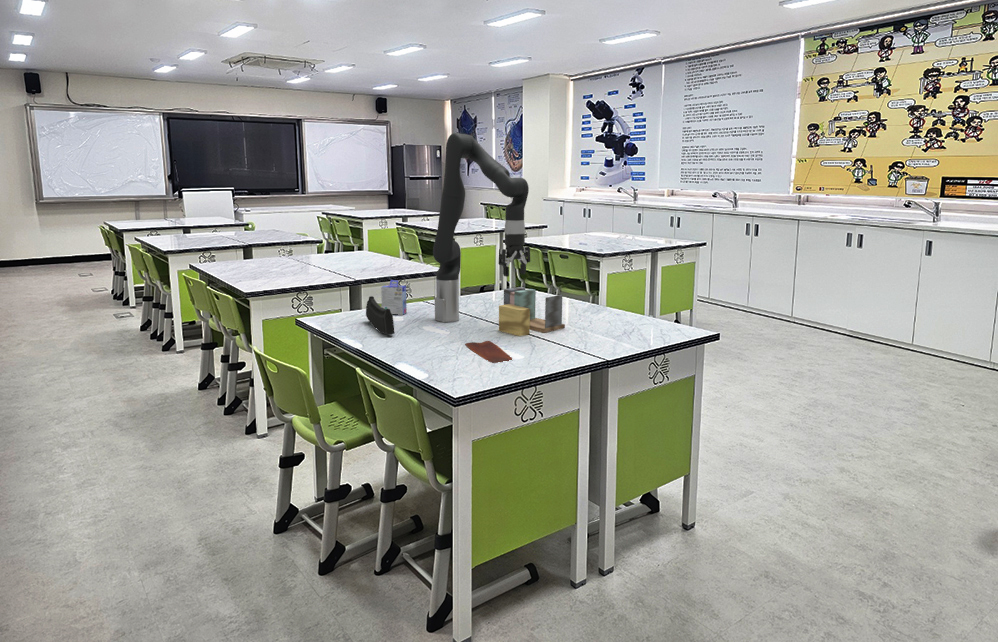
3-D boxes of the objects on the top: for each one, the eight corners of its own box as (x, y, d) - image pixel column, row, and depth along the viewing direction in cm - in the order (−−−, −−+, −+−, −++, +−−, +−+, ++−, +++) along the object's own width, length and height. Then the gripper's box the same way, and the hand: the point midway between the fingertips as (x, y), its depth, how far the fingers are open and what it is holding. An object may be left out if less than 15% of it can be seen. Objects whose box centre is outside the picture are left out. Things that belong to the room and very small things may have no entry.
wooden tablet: (463, 346, 246) (463, 341, 246) (489, 343, 250) (489, 339, 249) (488, 365, 222) (488, 360, 221) (517, 362, 225) (517, 357, 225)
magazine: (396, 315, 252) (374, 280, 276) (387, 315, 251) (366, 280, 274) (393, 354, 260) (373, 317, 284) (385, 355, 259) (365, 318, 282)
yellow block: (519, 336, 258) (520, 310, 256) (498, 330, 267) (498, 305, 265) (529, 334, 261) (529, 308, 259) (508, 328, 270) (508, 304, 268)
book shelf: (543, 332, 263) (544, 298, 260) (500, 321, 282) (500, 289, 279) (564, 328, 271) (565, 294, 268) (521, 317, 289) (521, 286, 286)
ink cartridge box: (407, 312, 299) (406, 280, 295) (403, 315, 293) (402, 282, 290) (385, 312, 300) (384, 279, 297) (381, 314, 295) (380, 281, 292)
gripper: (521, 230, 263) (521, 272, 267) (493, 232, 254) (493, 276, 257) (535, 231, 258) (534, 274, 261) (507, 234, 248) (507, 278, 252)
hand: (514, 275), depth 259 cm, fingers open, 8 cm apart
